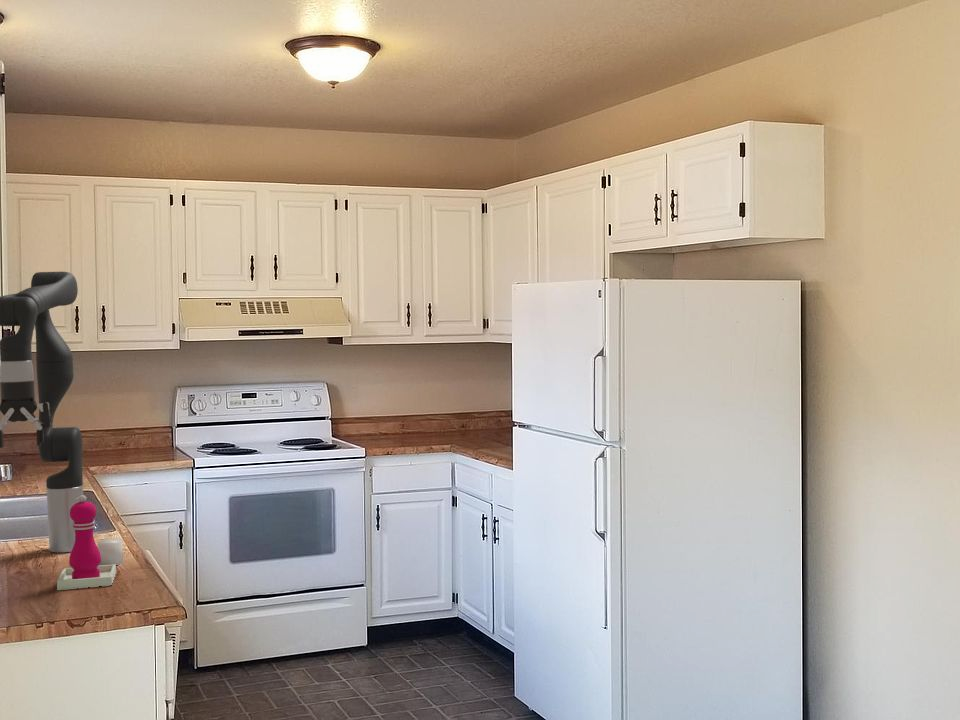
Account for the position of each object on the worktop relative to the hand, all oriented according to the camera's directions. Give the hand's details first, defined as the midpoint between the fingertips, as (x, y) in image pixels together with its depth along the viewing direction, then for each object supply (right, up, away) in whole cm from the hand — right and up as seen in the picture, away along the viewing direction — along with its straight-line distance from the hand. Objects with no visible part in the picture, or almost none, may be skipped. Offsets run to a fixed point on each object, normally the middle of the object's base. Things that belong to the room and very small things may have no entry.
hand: (20, 446), depth 261 cm
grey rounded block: (+17, -31, +13) cm, 38 cm away
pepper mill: (+17, -32, -3) cm, 36 cm away
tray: (+18, -32, -4) cm, 37 cm away
